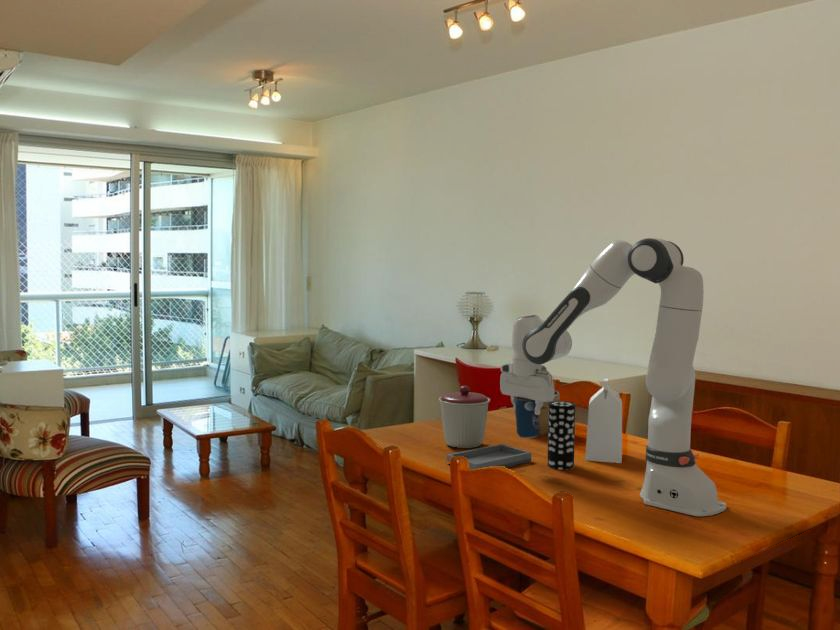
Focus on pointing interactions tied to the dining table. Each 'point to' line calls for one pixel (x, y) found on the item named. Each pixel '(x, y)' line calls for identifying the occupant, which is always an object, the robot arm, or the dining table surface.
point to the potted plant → (544, 411)
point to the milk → (604, 426)
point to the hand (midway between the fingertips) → (526, 412)
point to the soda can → (526, 418)
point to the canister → (464, 418)
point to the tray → (494, 456)
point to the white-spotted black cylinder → (561, 435)
